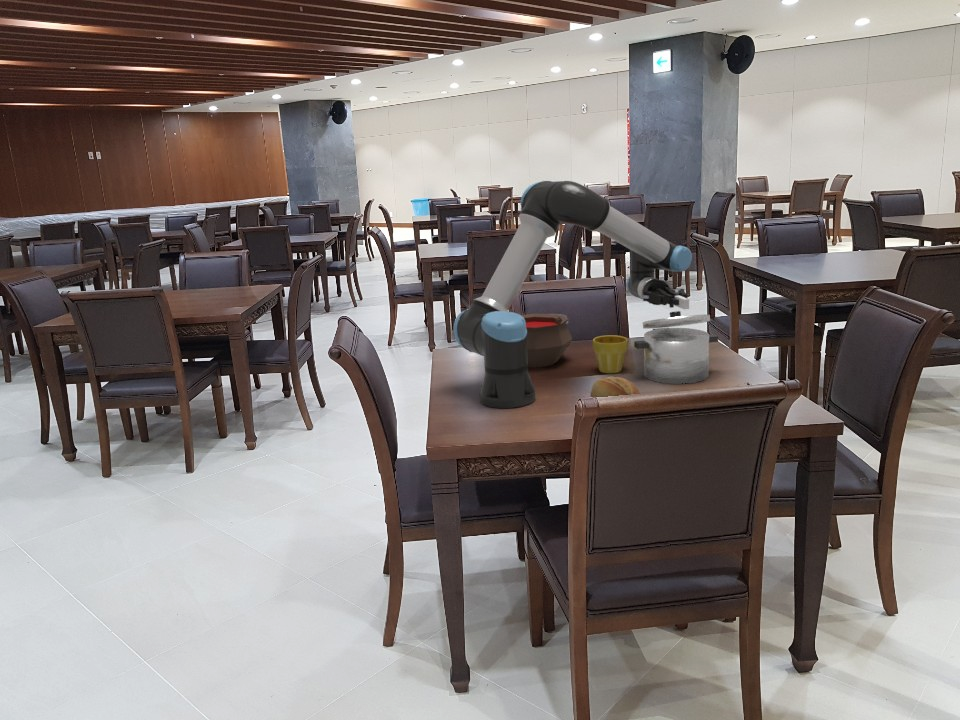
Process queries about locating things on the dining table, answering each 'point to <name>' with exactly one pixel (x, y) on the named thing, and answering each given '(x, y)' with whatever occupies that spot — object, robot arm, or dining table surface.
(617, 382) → the bread roll
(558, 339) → the brown clay bowl
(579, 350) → the dining table surface
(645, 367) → the pressure cooker
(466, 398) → the dining table surface
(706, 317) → the cooker lid
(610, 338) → the plant pot
